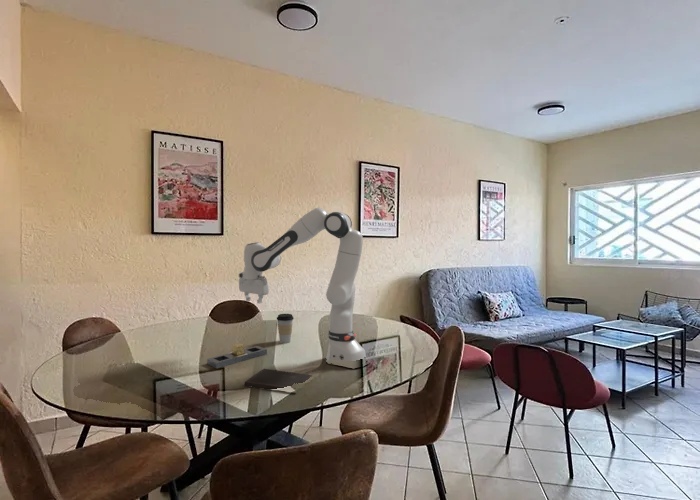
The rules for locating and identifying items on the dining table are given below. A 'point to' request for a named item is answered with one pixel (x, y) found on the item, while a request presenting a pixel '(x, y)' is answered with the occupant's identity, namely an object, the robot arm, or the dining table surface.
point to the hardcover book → (275, 379)
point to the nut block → (237, 349)
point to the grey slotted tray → (236, 357)
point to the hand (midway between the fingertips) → (253, 302)
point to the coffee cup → (285, 327)
